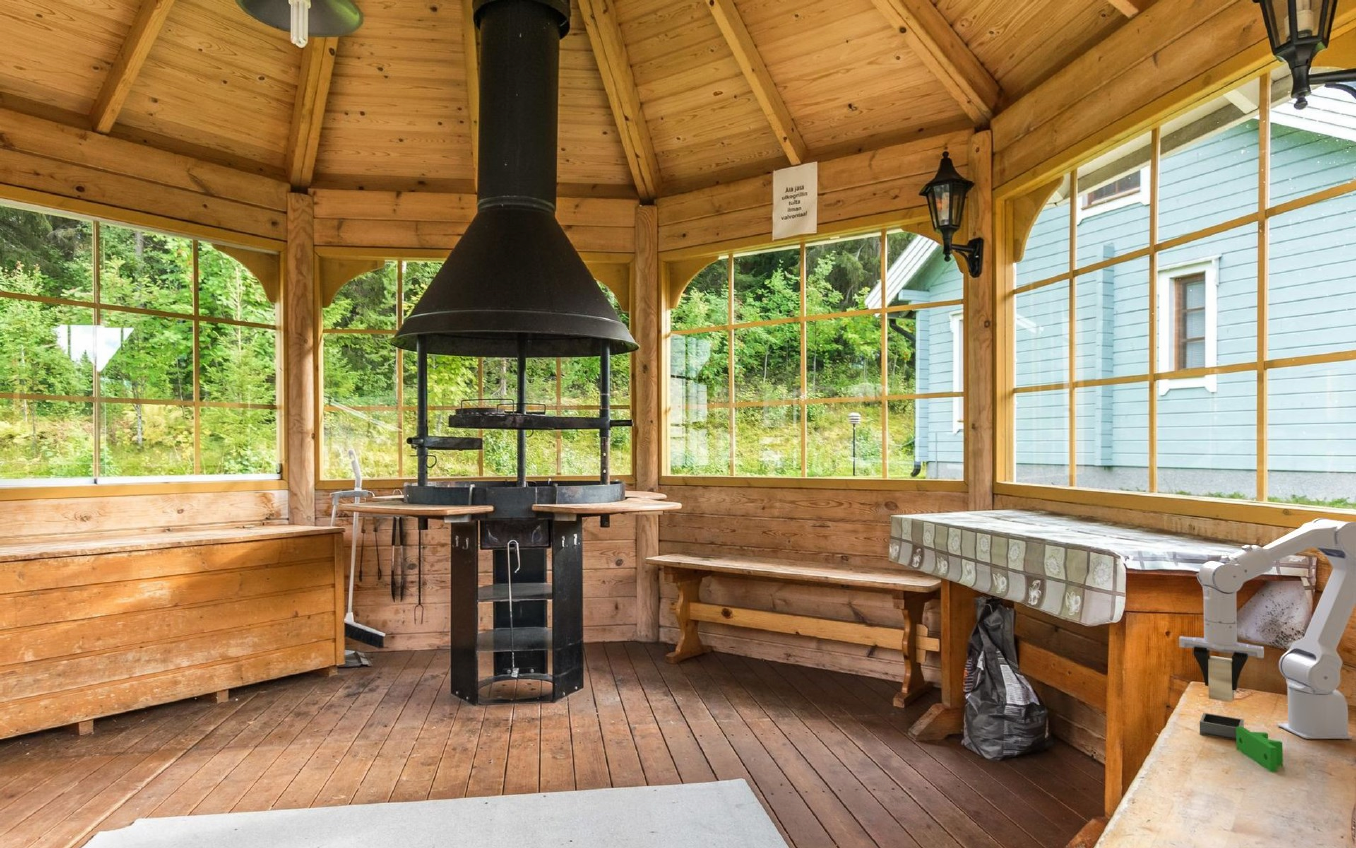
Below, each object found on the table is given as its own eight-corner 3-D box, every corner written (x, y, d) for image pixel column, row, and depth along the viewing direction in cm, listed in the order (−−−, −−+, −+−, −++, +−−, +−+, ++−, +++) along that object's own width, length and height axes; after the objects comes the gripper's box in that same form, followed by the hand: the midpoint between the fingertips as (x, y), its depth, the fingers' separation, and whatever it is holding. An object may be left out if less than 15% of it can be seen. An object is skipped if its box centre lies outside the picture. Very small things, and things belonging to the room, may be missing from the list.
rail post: (1211, 694, 173) (1210, 655, 173) (1234, 698, 171) (1233, 659, 171) (1208, 698, 170) (1208, 659, 170) (1231, 702, 167) (1231, 662, 168)
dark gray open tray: (1203, 724, 174) (1203, 712, 174) (1243, 731, 170) (1243, 719, 170) (1199, 734, 169) (1199, 721, 169) (1241, 741, 164) (1241, 728, 164)
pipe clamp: (1293, 774, 149) (1292, 748, 149) (1270, 773, 149) (1270, 747, 149) (1257, 750, 160) (1256, 726, 160) (1236, 749, 161) (1235, 725, 161)
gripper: (1176, 619, 172) (1177, 685, 172) (1261, 629, 163) (1262, 698, 162) (1181, 613, 177) (1182, 677, 177) (1264, 623, 168) (1265, 690, 168)
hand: (1221, 687), depth 170 cm, fingers closed on rail post, 4 cm apart
